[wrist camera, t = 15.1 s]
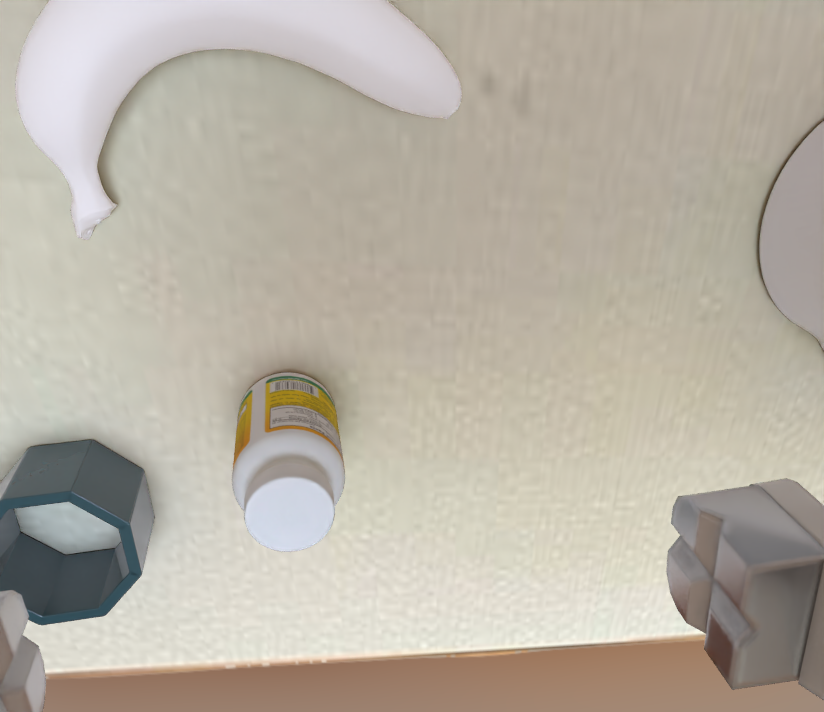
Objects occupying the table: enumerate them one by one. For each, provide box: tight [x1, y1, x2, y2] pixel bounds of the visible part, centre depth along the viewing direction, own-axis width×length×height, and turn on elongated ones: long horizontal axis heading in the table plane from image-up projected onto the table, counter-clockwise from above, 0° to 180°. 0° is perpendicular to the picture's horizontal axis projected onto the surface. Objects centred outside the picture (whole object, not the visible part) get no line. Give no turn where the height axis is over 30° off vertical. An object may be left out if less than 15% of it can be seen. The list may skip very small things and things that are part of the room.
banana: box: [15, 0, 462, 240], centre depth 35 cm, size 5×19×15 cm
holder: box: [0, 440, 155, 625], centre depth 41 cm, size 8×8×5 cm
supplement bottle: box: [232, 373, 345, 552], centre depth 39 cm, size 5×5×10 cm
